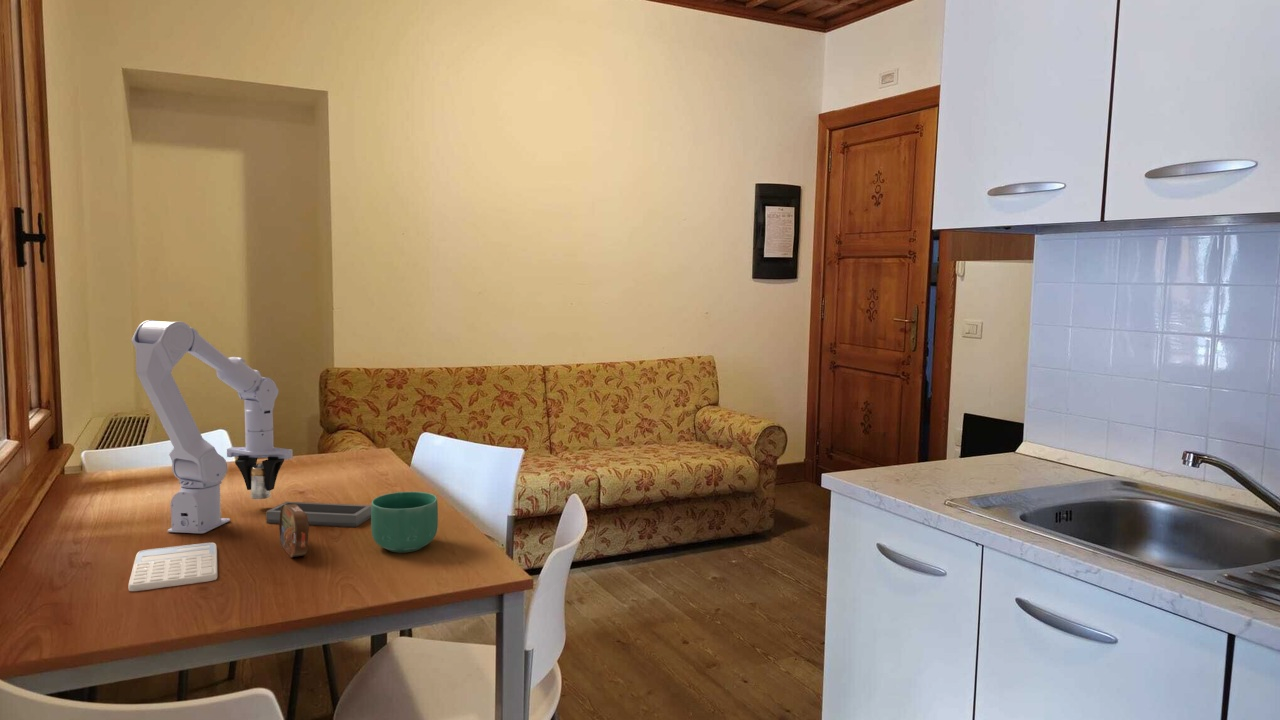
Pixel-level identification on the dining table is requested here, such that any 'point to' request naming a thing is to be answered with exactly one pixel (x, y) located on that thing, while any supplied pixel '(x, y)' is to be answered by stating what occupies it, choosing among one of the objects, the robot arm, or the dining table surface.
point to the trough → (326, 514)
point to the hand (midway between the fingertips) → (260, 489)
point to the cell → (258, 482)
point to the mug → (404, 520)
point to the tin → (294, 530)
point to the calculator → (174, 566)
